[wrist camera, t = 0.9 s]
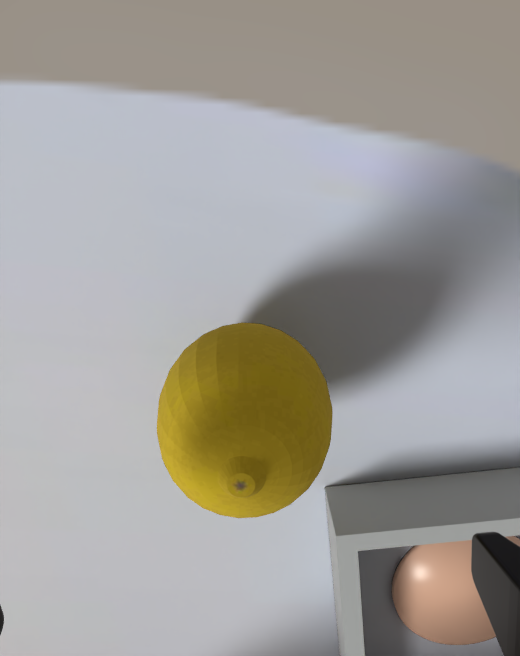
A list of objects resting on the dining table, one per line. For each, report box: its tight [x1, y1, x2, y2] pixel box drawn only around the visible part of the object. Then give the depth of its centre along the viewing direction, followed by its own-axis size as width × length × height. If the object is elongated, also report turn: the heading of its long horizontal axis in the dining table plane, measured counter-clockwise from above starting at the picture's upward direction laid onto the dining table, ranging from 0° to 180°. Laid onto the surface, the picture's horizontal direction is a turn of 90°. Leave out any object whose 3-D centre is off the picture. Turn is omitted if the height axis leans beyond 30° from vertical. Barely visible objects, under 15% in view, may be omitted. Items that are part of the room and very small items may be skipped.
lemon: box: [157, 323, 332, 518], centre depth 14 cm, size 6×6×8 cm
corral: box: [325, 467, 520, 656], centre depth 20 cm, size 13×13×3 cm
